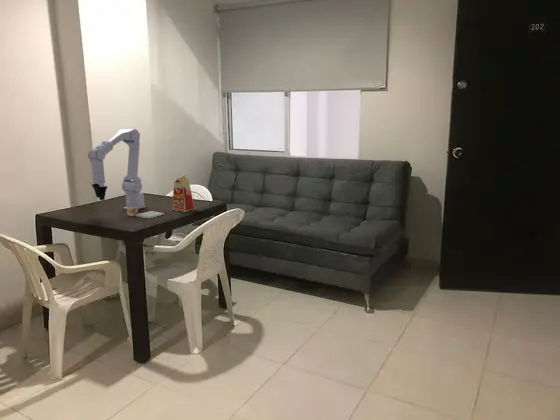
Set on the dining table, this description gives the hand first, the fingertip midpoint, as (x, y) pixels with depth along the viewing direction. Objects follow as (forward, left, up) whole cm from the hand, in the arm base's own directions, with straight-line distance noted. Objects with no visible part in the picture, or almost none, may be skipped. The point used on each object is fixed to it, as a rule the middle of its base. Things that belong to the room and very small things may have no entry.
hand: (100, 198), depth 240 cm
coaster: (-16, +18, -10) cm, 26 cm away
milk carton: (-35, +23, -10) cm, 43 cm away
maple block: (-12, +9, -10) cm, 18 cm away
